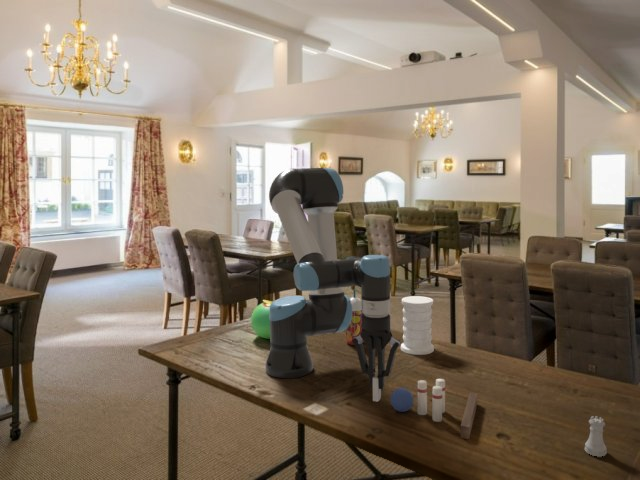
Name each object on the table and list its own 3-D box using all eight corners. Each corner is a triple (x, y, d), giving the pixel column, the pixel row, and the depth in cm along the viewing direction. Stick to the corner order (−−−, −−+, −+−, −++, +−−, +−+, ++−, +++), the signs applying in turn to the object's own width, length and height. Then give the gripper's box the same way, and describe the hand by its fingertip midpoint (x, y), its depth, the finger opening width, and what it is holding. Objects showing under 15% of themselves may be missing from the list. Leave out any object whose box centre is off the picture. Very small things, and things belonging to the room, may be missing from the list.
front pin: (416, 414, 140) (416, 383, 139) (418, 410, 143) (418, 379, 141) (426, 415, 139) (426, 384, 138) (427, 411, 142) (427, 380, 141)
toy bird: (251, 331, 215) (250, 295, 213) (294, 329, 217) (293, 293, 215) (251, 346, 198) (249, 307, 196) (296, 343, 199) (295, 304, 197)
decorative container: (434, 344, 194) (434, 296, 192) (433, 355, 183) (433, 304, 181) (401, 343, 197) (401, 295, 195) (399, 353, 186) (399, 303, 183)
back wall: (460, 437, 128) (460, 425, 127) (469, 403, 146) (469, 392, 146) (469, 439, 127) (469, 427, 127) (477, 404, 145) (477, 393, 145)
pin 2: (431, 421, 136) (431, 389, 135) (433, 416, 139) (433, 385, 138) (441, 422, 135) (441, 390, 134) (442, 418, 138) (443, 386, 137)
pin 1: (434, 412, 141) (434, 381, 140) (436, 408, 143) (436, 378, 142) (444, 414, 140) (444, 382, 139) (445, 410, 142) (446, 379, 141)
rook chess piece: (586, 445, 123) (587, 412, 122) (607, 451, 121) (609, 417, 119) (582, 454, 119) (584, 420, 118) (605, 460, 117) (607, 425, 116)
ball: (408, 393, 138) (411, 416, 138) (414, 385, 143) (416, 407, 144) (386, 392, 141) (388, 414, 141) (393, 384, 146) (395, 405, 146)
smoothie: (342, 339, 202) (341, 287, 200) (364, 338, 203) (363, 287, 200) (345, 347, 194) (344, 292, 191) (368, 346, 195) (367, 292, 192)
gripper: (347, 315, 141) (349, 401, 144) (396, 319, 136) (397, 408, 139) (356, 308, 148) (358, 390, 151) (403, 312, 143) (403, 397, 146)
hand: (376, 399), depth 145 cm, fingers closed
